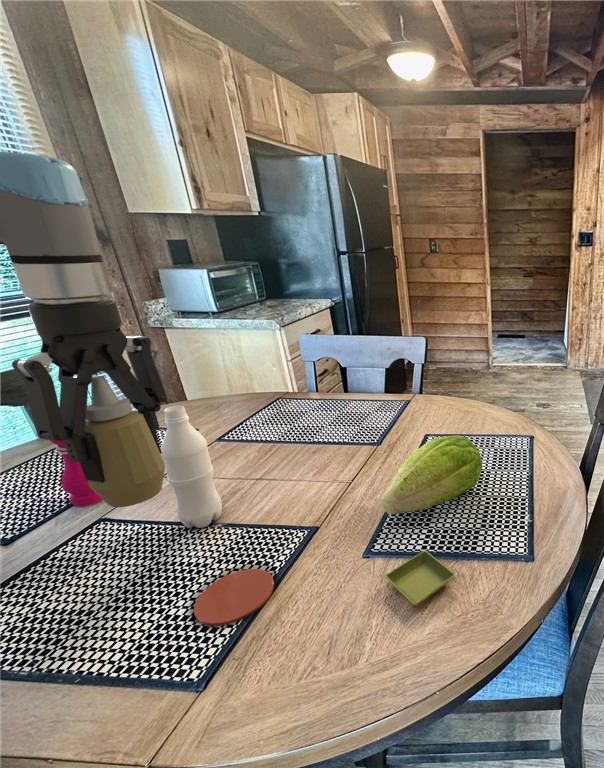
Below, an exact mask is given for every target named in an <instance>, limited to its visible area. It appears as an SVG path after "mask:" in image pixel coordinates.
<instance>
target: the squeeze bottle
mask: <svg viewBox="0 0 604 768" xmlns="http://www.w3.org/2000/svg"><path fill="white" fill-rule="evenodd" d="M90 388H91V389H90V391H91V392H90V393H91V397H90V398H91V401H90V402H89V403H88V402H87V410H86V424H85V434H90V435H94V438H95V441H96V444H97V447H98V449H99V452H100V457H101V463H102V468H103V473H104V478H105V482H103V483H102V482H96V481H90V480H88V484H89V487H90V488H91V489H92V490H93V491H94V492H95V493H96V494H98V495H99V496H100V497H101V498H102V499H103V500H102V501H103V502H104V503H106V504H107V505H108V506H110V507H111V508H125V507H131V506H135V505H138V504H142V503H144V502H147V501H148V500H151V499H153V498H154V497H156V496H157V495H159V493H161V491H162V489H163V483H164V476H165V472H166V468H165V463H164V461H163V457H162V456H161V454H160V452H159V449H158V447H157V445H156V443H155V440H154V438H153V436H152V434H151V432H150V429H149V427H148V425H147V423H146V420H145V418H144V416H143V414H140V413H138V411H137V412H135V411H136V410H133V406H132V404H131V403H130V401H129V399H127V398H126V397H118V396H117V395H116V393H115V391H114V390H113V388H112V387H111V385H110V384H109V382H108V380H107V379H106V378H105V376H104V375H96V376H95V375H94V376H92V382H91V383H90Z"/></svg>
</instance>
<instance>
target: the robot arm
mask: <svg viewBox="0 0 604 768" xmlns="http://www.w3.org/2000/svg"><path fill="white" fill-rule="evenodd" d="M0 246H5V248H6V251H7V253H8V256H9V259H10V261H11V263H12V267H13V269H14V272H15V275H16V278H17V280H18V284H19V286H20V288H21V291H22V294H23V297H25V298H26V299H29V300H33V302H30V303H29V305H27V309H28V312H29V314H30V317H31V320H32V323H33V326H34V328H35V331H36V333H37V334H38V336H39V337H40V339H41V348H40V352H39V353H37V354H34V355H32V356H30V357H28V358H25V359H23V358H22V359H21V358H16V359H14V360H13V361H12V362H11V366H12V368H13V369H14V371H15V372H16V373H17V374H18V376H19V377H20V378H21V380H22V381H23V385H24V389H25V393H26V397H27V401H28V404H29V409H30V412H31V416H32V420H33V424H34V428H35V432H36V436H37V438H39V439H41V440H47V441H49V440H53V441H62V440H63V442H64V444H65V447H66V450H67V453H68V454H69V458H70V459H71V460H72V461H73V462H80V465H81V468H82V470H83V473H84V476H85V479H86V480H90V481H96V482H102V483H103V482H105V478H104V473H103V468H102V463H101V457H100V452H99V449H98V447H97V444H96V441H95V438H94V435H90V434H85V424H86V410H87V404H88V396H89V395H88V394H89V386H90V385H91V382H92V377H93V376H95V375H98V374H99V373H100V372H103V373H104V374H106V375H107V376H108V377H109V378H110V379H111V381H112V382H113V384H114V385H115V386H116V387H117V388H118V389H119V391H120V392H121V393H122V395H123V396H124V398H127V399H129V401H130V404H131V407H132V408H134V409H135V410H134V411H135V412H138V413H140V414H143V416H144V418H145V420H146V423H147V425H148V427H149V429H150V432H151V434H152V436H153V438H154V440H155V443H156V445H157V447H158V449H159V452H160V454H162V452H161V445H160V442H159V438H158V434H157V431H159V430H160V424H159V420H158V417H157V413H158V412H160V410H161V408H162V407H161V405H160V404H162V403H163V404H164V403H166V401H167V399H168V395H167V393H166V391H165V387H164V385H163V382H162V379H161V377H160V374H159V372H158V369H157V367H156V363H155V362H154V359H153V356H152V354H151V353H152V351H151V349H152V346H151V344H152V343H151V339H150V337H148V336H140V335H139V336H138V335H129V336H127V335H126V334H125V333H124V332H123V331H122V329H121V327H122V324H123V323H122V319H121V316H120V312H119V309H118V305H117V302H116V300H113V298H111V297H109V296H110V295H112V294H113V293H114V290H113V287H112V284H111V280H110V276H109V274H108V270H107V268H106V264H105V261H104V258H103V256H102V252H101V247H100V244H99V239H98V236H97V233H96V229H95V226H94V222H93V218H92V214H91V212H90V208H89V199H88V198H87V197H86V194H85V192H84V189H83V186H82V184H81V180H80V178H79V176H78V173H77V170H76V169H75V168H74V166H72V165H71V164H70V163H69V162H67V161H65V160H63V159H59V158H56V157H51V156H46V155H44V156H43V155H37V154H30V153H22V152H11V151H0ZM125 350H126V351H127V356H128V359H129V361H130V363H131V366H132V368H131V366H130V365H129V363H128V361H127V360H126V359H125V358H124V357H123V355H124V352H125ZM51 363H52V364H54V365H55V366H56V367H58V374H57V375H58V377H57V379H58V382H59V383H60V393H59V400H58V396H57V391H56V387H55V384H54V380H53V378H52V376H51V374H50V373H51V372H52V371H53V368H52V367H51ZM132 369H133V372H134V373H133V372H132V371H131V370H132ZM134 374H135V375H134ZM136 410H137V411H136Z"/></svg>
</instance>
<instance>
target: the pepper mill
mask: <svg viewBox="0 0 604 768" xmlns="http://www.w3.org/2000/svg"><path fill="white" fill-rule="evenodd" d="M48 441H49V442H50V443H52V444H53V445H56V446H55V450H56V452H57V454H59V455H61V456H62V458H63V459H62V460H63V462H64V463H63V464H64V467H63V473H62V476H61V487H62V490H63V492H65V493H67V494H70V495H69V499H70V502H71V504H72V505H73V506H76V507H85V506H90V505H94V504H98V503H100V502H102V501H104V500H103V499H102V498H101V497H100V496H99V495H98V494H96V493H95V492H94V491H93V490H92V489H91V488H90V487H89V484H88V480H86V479H85V476H84V473H83V470H82V468H81V465H80V462H73V461H72V460H71V459H70V458H69V454H68V453H67V450H66V447H65V444H64V442H63V440H62V441H53V440H48Z"/></svg>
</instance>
